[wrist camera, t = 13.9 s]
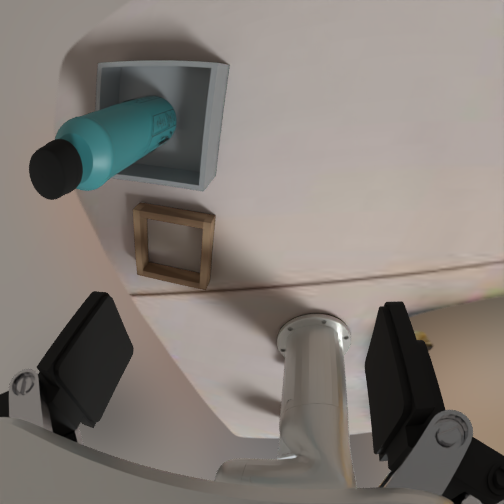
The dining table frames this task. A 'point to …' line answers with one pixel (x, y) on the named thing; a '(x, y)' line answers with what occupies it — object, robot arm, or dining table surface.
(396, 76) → the dining table surface
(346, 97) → the dining table surface
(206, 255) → the collar
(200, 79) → the bin
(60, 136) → the beverage bottle
